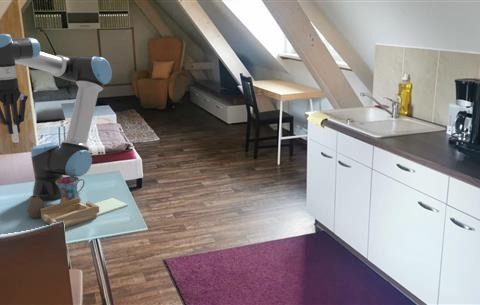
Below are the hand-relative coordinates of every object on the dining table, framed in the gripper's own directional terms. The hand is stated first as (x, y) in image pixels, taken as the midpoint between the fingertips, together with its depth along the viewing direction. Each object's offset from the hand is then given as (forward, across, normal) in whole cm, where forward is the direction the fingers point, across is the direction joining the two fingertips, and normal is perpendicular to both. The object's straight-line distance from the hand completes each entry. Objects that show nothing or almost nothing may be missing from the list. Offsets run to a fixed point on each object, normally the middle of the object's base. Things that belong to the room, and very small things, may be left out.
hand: (15, 141), depth 178 cm
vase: (+33, +5, +2) cm, 33 cm away
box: (+32, +12, -10) cm, 36 cm away
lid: (+33, +28, -10) cm, 44 cm away
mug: (+33, +22, +5) cm, 39 cm away
